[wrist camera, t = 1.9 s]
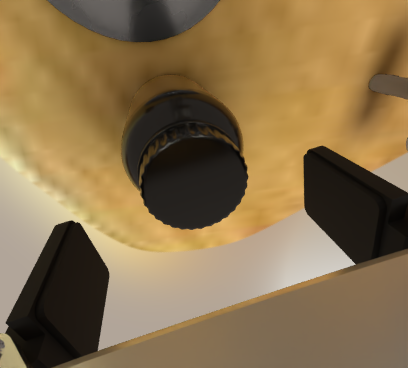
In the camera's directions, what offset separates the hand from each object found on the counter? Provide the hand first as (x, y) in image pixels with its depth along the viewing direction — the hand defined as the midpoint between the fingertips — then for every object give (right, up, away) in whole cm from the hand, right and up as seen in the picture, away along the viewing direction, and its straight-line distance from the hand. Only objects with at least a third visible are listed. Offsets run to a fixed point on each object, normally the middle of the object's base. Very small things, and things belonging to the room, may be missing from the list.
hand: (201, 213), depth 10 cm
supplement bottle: (-3, +7, +11) cm, 13 cm away
